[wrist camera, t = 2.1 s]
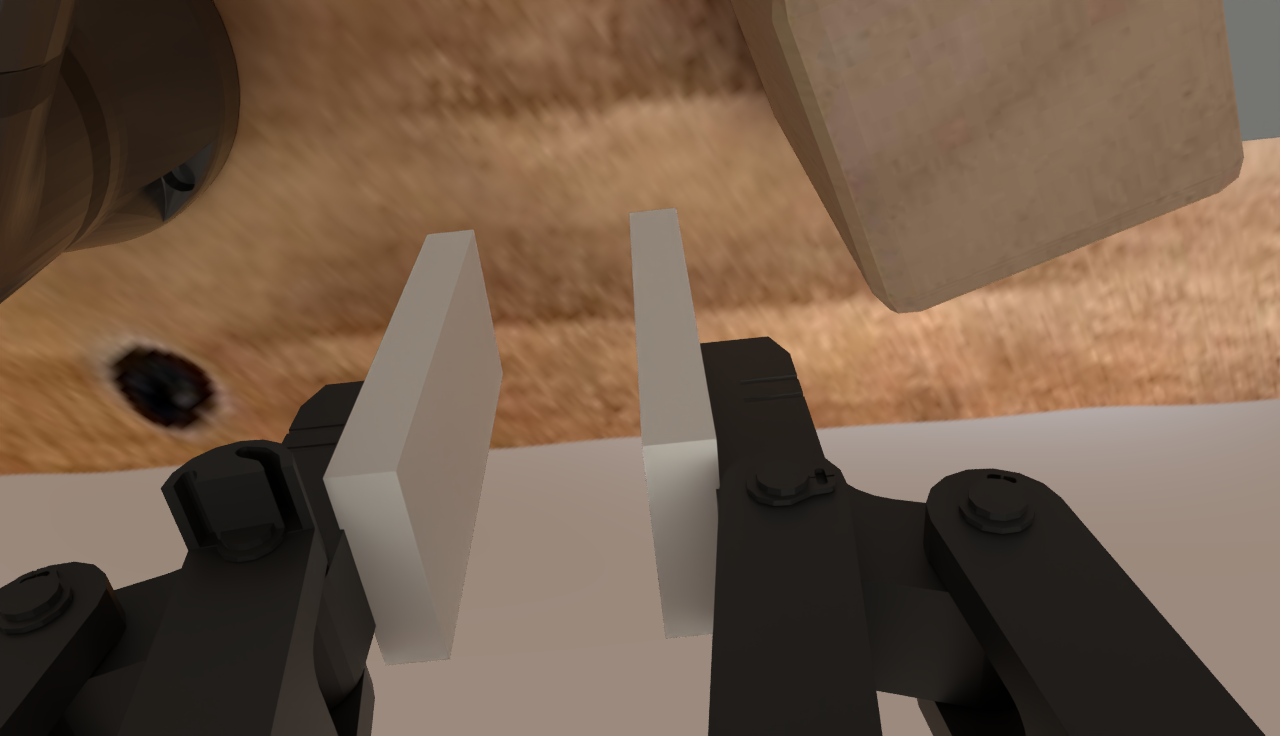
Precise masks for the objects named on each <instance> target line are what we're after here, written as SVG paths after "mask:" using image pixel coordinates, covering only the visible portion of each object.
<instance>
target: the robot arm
mask: <svg viewBox="0 0 1280 736" xmlns="http://www.w3.org/2000/svg"><path fill="white" fill-rule="evenodd" d="M238 115H239V83H238V75H237V69H236V64H235V59H234V55H233V51H232V48H231V44H230V41H229V38H228V36H227V33H226V30H225V28H224V25H223V23H222V21H221V18H220V16H219V14H218V12H217V10H216V8H215V6H214V4H213V2H212V1H211V0H0V304H1V303H2V302H3V301H4V300H6V299H7V298H8V297H9V296H11V295H12V294H13V293H14V292H15V291H17V290H18V289H19V288H20V287H21V286H23V285H24V284H25V283H26V282H27V281H29V280H30V279H31V278H32V277H33V276H35V275H36V274H37V273H38V272H40V271H41V270H42V269H43V268H44V267H46V266H47V265H48V264H49V263H50V262H52V261H53V260H54V259H55V258H56V257H57V256H59V255H60V254H61V253H63V252H69V251H75V250H80V249H86V248H92V247H98V246H104V245H110V244H115V243H120V242H124V241H128V240H131V239H134V238H137V237H139V236H142V235H145V234H147V233H149V232H151V231H153V230H155V229H157V228H159V227H161V226H163V225H164V224H166V223H168V222H169V221H171V220H172V219H174V218H175V217H176V216H178V215H179V214H180V213H181V212H182V211H184V210H185V209H186V208H187V207H188V206H189V205H190V204H191V203H192V202H193V201H194V200H196V199H197V198H198V197H199V196H200V195H201V194H202V193H203V192H204V191H205V190H206V189H207V188H208V187H209V185H210V184H211V183H212V182H213V180H214V179H215V178H216V176H217V175H218V173H219V172H220V170H221V169H222V167H223V165H224V163H225V161H226V159H227V157H228V155H229V152H230V150H231V147H232V144H233V141H234V137H235V133H236V128H237V123H238ZM629 217H630V235H631V253H632V271H633V290H634V308H635V326H636V345H637V363H638V381H639V399H640V418H641V436H642V449H643V458H644V466H645V474H646V482H647V490H648V498H649V506H650V515H651V523H652V531H653V539H654V548H655V556H656V564H657V572H658V580H659V587H660V596H661V605H662V612H663V621H664V629H665V637H666V638H677V637H687V636H698V635H708V634H713V640H712V662H711V685H710V707H709V730H708V736H882V730H881V722H880V714H879V707H878V700H877V693H876V691H882V692H887V693H893V694H899V695H904V696H909V697H915V698H917V701H918V705H919V708H920V710H921V711H922V714H923V716H924V718H925V720H926V722H927V724H928V726H929V728H930V730H931V732H932V734H933V736H1265V734H1264V733H1263V732H1262V731H1261V730H1260V729H1259V727H1257V725H1256V724H1255V723H1254V722H1253V720H1252V719H1251V718H1250V717H1249V716H1248V715H1247V713H1246V712H1245V711H1244V710H1243V709H1242V708H1241V706H1240V705H1239V704H1238V703H1237V702H1236V701H1235V699H1234V698H1233V697H1232V696H1231V695H1230V694H1229V693H1228V691H1227V690H1226V689H1225V688H1224V687H1223V686H1222V684H1221V683H1220V682H1219V681H1218V680H1217V679H1216V677H1215V676H1214V675H1213V674H1212V673H1211V672H1210V670H1209V669H1208V668H1207V667H1206V666H1205V665H1204V663H1203V662H1202V661H1201V660H1200V659H1199V658H1198V656H1197V655H1196V654H1195V653H1194V652H1193V651H1192V650H1191V648H1190V647H1189V646H1188V645H1187V644H1186V642H1185V641H1184V640H1183V639H1182V638H1181V637H1180V635H1179V634H1178V633H1177V632H1176V631H1175V630H1174V629H1173V628H1172V626H1171V625H1170V624H1169V623H1168V622H1167V620H1166V619H1165V618H1164V617H1163V616H1162V615H1161V613H1159V611H1158V610H1157V609H1156V608H1155V606H1154V605H1153V604H1152V603H1151V602H1150V601H1149V599H1148V598H1147V597H1146V596H1145V595H1144V594H1143V592H1142V591H1141V590H1140V589H1139V588H1138V587H1137V585H1135V583H1134V582H1133V581H1132V580H1131V578H1130V577H1129V576H1128V575H1127V574H1126V573H1125V571H1124V570H1123V569H1122V568H1121V567H1120V566H1119V564H1118V563H1117V562H1116V561H1115V560H1114V559H1113V558H1112V556H1111V555H1110V554H1109V553H1108V552H1107V551H1106V549H1105V548H1104V547H1103V546H1102V545H1101V544H1100V542H1099V541H1098V540H1097V539H1096V538H1095V536H1094V535H1093V534H1092V533H1091V532H1090V531H1089V530H1088V528H1087V527H1086V526H1085V525H1084V524H1083V523H1082V521H1081V520H1080V519H1079V518H1078V517H1077V516H1076V514H1075V513H1074V512H1073V511H1072V510H1071V509H1070V507H1069V506H1068V505H1067V504H1066V503H1065V502H1064V500H1063V499H1062V498H1061V497H1060V496H1058V495H1057V494H1056V493H1055V492H1053V491H1052V490H1051V489H1050V488H1048V487H1047V486H1046V485H1045V484H1043V483H1041V482H1039V481H1036V480H1034V479H1032V478H1029V477H1027V476H1025V475H1022V474H1020V473H1015V472H1010V471H1004V470H998V469H974V470H973V469H972V470H965V471H961V472H958V473H955V474H952V475H949V476H946V477H944V478H943V479H942V480H941V481H940V482H938V483H937V484H936V485H935V486H933V487H932V488H931V490H930V493H929V496H928V499H927V502H926V503H921V502H913V501H904V500H895V499H889V498H884V497H879V496H874V495H871V494H868V493H866V492H863V491H860V490H857V489H855V488H854V487H852V486H850V485H848V484H847V483H846V481H845V479H844V476H843V474H842V472H841V470H840V469H839V468H837V467H836V466H835V465H833V464H832V463H831V462H830V461H828V460H827V459H826V458H825V457H824V454H823V451H822V448H821V445H820V442H819V439H818V436H817V433H816V430H815V427H814V424H813V421H812V418H811V415H810V412H809V409H808V406H807V403H806V400H805V397H803V391H802V388H801V386H800V383H799V380H798V379H797V374H796V371H795V368H794V365H793V362H792V359H791V356H790V353H788V352H787V351H786V350H785V349H783V348H782V347H781V346H780V345H778V344H777V343H776V342H775V341H773V340H772V339H771V338H770V337H758V338H749V339H739V340H729V341H720V342H710V343H700V342H699V336H698V331H697V325H696V319H695V313H694V308H693V302H692V296H691V290H690V285H689V279H688V273H687V267H686V262H685V256H684V250H683V244H682V239H681V233H680V227H679V221H678V216H677V210H676V208H669V209H660V210H651V211H641V212H632V213H629ZM502 376H503V372H502V367H501V362H500V357H499V352H498V347H497V342H496V337H495V332H494V327H493V322H492V317H491V312H490V307H489V303H488V298H487V293H486V288H485V283H484V278H483V273H482V268H481V263H480V258H479V253H478V248H477V243H476V238H475V234H474V229H473V230H464V231H455V232H446V233H436V234H427V236H426V239H425V241H424V243H423V246H422V248H421V250H420V253H419V255H418V258H417V260H416V262H415V265H414V267H413V269H412V272H411V274H410V276H409V279H408V281H407V283H406V286H405V288H404V290H403V293H402V295H401V297H400V300H399V302H398V304H397V307H396V309H395V311H394V314H393V316H392V318H391V321H390V323H389V325H388V328H387V330H386V332H385V335H384V337H383V339H382V342H381V344H380V346H379V349H378V351H377V353H376V356H375V358H374V360H373V363H372V365H371V367H370V370H369V372H368V374H367V377H366V379H365V381H359V382H349V383H340V384H330V385H325V386H324V387H323V388H322V389H321V390H320V391H318V392H317V393H316V394H315V395H314V396H313V397H311V398H310V399H309V400H308V401H307V402H306V403H304V404H303V405H302V406H301V407H300V409H299V411H298V413H297V415H296V417H295V419H294V421H293V423H292V425H291V427H290V429H289V434H286V436H285V438H284V440H283V442H282V444H281V443H277V442H272V441H267V440H251V441H239V442H235V443H232V444H228V445H224V446H220V447H217V448H214V449H212V450H210V451H208V452H205V453H203V454H201V455H199V456H197V457H195V458H193V459H191V460H190V461H188V462H187V463H185V464H184V465H183V466H181V467H180V468H179V469H177V470H176V471H175V472H173V473H172V474H171V476H170V477H169V478H168V480H167V481H166V482H165V484H164V485H163V486H162V487H161V490H162V492H163V495H164V497H165V499H166V501H167V504H168V506H169V508H170V510H171V513H172V515H173V517H174V519H175V522H176V524H177V526H178V528H179V531H180V533H181V535H182V537H183V539H184V542H185V544H186V546H187V549H188V553H187V556H186V558H185V561H184V563H183V566H182V568H181V569H179V570H176V571H174V572H171V573H168V574H165V575H162V576H159V577H156V578H152V579H149V580H146V581H143V582H140V583H136V584H133V585H130V586H127V587H123V588H120V589H117V590H113V588H112V586H111V584H110V582H109V580H108V578H107V576H106V574H105V573H104V572H103V571H101V570H100V569H99V568H98V567H97V566H95V565H94V564H87V563H79V562H71V563H63V564H57V565H51V566H47V567H44V568H41V569H37V570H36V571H32V572H29V573H27V574H24V575H22V576H20V577H18V578H17V579H16V580H14V581H12V582H11V583H9V584H7V585H5V586H4V587H2V588H0V736H371V730H372V720H373V710H374V701H375V700H374V699H375V696H374V690H373V684H372V680H371V677H370V674H369V671H368V668H367V666H366V659H367V655H368V652H369V648H370V645H371V641H372V638H373V635H374V633H375V636H376V639H377V642H378V645H379V647H380V650H381V653H382V656H383V659H384V662H385V665H394V664H405V663H416V662H426V661H437V660H446V659H450V655H451V649H452V644H453V638H454V633H455V628H456V623H457V617H458V612H459V606H460V601H461V596H462V590H463V585H464V579H465V574H466V569H467V564H468V558H469V553H470V548H471V541H472V537H473V531H474V526H475V521H476V515H477V509H478V505H479V499H480V494H481V488H482V483H483V478H484V473H485V467H486V461H487V456H488V451H489V446H490V440H491V435H492V430H493V424H494V419H495V414H496V408H497V403H498V398H499V392H500V387H501V382H502Z"/></svg>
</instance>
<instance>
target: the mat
mask: <svg viewBox="0 0 1280 736" xmlns="http://www.w3.org/2000/svg"><path fill="white" fill-rule="evenodd" d="M1223 8H1224V15H1225V22H1226V30H1227V37H1228V44H1229V52H1230V59H1231V66H1232V74H1233V81H1234V88H1235V96H1236V103H1237V110H1238V117H1239V125H1240V132H1241V139H1242V141H1248V140H1257V139H1266V138H1276V137H1280V0H1223Z"/></svg>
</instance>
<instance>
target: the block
mask: <svg viewBox="0 0 1280 736" xmlns="http://www.w3.org/2000/svg"><path fill="white" fill-rule="evenodd" d="M730 2H731V4H732V7H733V10H734V12H735V15H736V17H737V20H738V22H739V25H740V28H741V30H742V33H743V35H744V38H745V40H746V43H747V46H748V48H749V51H750V53H751V56H752V59H753V61H754V64H755V66H756V69H757V71H758V74H759V77H760V79H761V82H762V84H763V87H764V89H765V92H766V95H767V97H768V100H769V102H770V105H771V108H772V110H773V113H774V115H775V117H776V119H777V121H778V123H779V125H780V126H781V128H782V130H783V132H784V134H785V136H786V137H787V139H788V141H789V143H790V145H791V146H792V148H793V150H794V152H795V154H796V155H797V157H798V159H799V161H800V163H801V164H802V166H803V168H804V170H805V172H806V174H807V175H808V177H809V179H810V181H811V183H812V184H813V186H814V188H815V190H816V192H817V193H818V195H819V197H820V199H821V201H822V202H823V204H824V206H825V208H826V210H827V212H828V213H829V215H830V217H831V219H832V221H833V222H834V224H835V226H836V228H837V230H838V231H839V233H840V235H841V237H842V239H843V240H844V242H845V244H846V246H847V248H848V249H849V251H850V253H851V255H852V257H853V259H854V260H855V262H856V264H857V266H858V268H859V269H860V271H861V273H862V275H863V277H864V278H865V280H866V282H867V284H868V286H869V287H870V289H871V291H872V293H873V294H874V295H875V296H876V297H877V298H878V299H879V300H880V301H881V302H883V303H884V304H885V305H886V306H887V307H888V308H889V309H890V310H892V311H894V312H897V313H908V312H919V311H923V310H926V309H928V308H931V307H933V306H936V305H938V304H941V303H943V302H946V301H948V300H951V299H953V298H956V297H958V296H961V295H963V294H966V293H968V292H971V291H973V290H976V289H978V288H981V287H983V286H986V285H988V284H991V283H993V282H996V281H999V280H1001V279H1004V278H1006V277H1009V276H1011V275H1014V274H1016V273H1019V272H1021V271H1024V270H1026V269H1029V268H1031V267H1034V266H1036V265H1039V264H1041V263H1044V262H1046V261H1049V260H1051V259H1054V258H1056V257H1059V256H1061V255H1064V254H1066V253H1069V252H1071V251H1074V250H1076V249H1079V248H1081V247H1084V246H1086V245H1089V244H1091V243H1094V242H1096V241H1099V240H1101V239H1104V238H1106V237H1109V236H1111V235H1114V234H1116V233H1119V232H1121V231H1124V230H1126V229H1129V228H1131V227H1134V226H1136V225H1139V224H1141V223H1144V222H1146V221H1149V220H1151V219H1154V218H1156V217H1159V216H1161V215H1164V214H1166V213H1169V212H1171V211H1174V210H1176V209H1179V208H1181V207H1184V206H1186V205H1189V204H1191V203H1194V202H1196V201H1199V200H1201V199H1204V198H1206V197H1209V196H1211V195H1214V194H1216V193H1219V192H1220V191H1222V190H1223V189H1224V188H1225V187H1227V186H1228V185H1229V184H1231V183H1232V182H1233V181H1234V180H1236V179H1237V178H1238V177H1239V174H1240V170H1241V166H1242V162H1243V158H1244V154H1243V147H1242V139H1241V132H1240V125H1239V117H1238V110H1237V103H1236V96H1235V88H1234V81H1233V74H1232V66H1231V59H1230V52H1229V44H1228V37H1227V30H1226V22H1225V15H1224V8H1223V0H730Z"/></svg>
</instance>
